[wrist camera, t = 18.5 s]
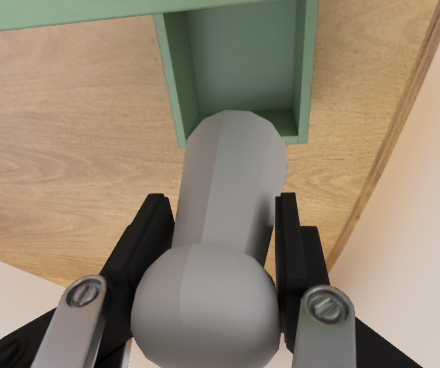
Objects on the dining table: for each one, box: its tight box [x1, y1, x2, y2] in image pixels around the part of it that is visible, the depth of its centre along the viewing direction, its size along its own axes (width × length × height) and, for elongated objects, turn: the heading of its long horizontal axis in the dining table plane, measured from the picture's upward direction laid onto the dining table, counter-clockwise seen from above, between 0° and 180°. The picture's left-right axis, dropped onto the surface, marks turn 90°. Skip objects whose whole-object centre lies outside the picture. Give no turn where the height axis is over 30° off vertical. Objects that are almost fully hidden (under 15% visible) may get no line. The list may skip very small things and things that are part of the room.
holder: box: [153, 0, 318, 148], centre depth 25 cm, size 15×12×8 cm
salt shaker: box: [130, 110, 288, 368], centre depth 13 cm, size 6×6×13 cm
